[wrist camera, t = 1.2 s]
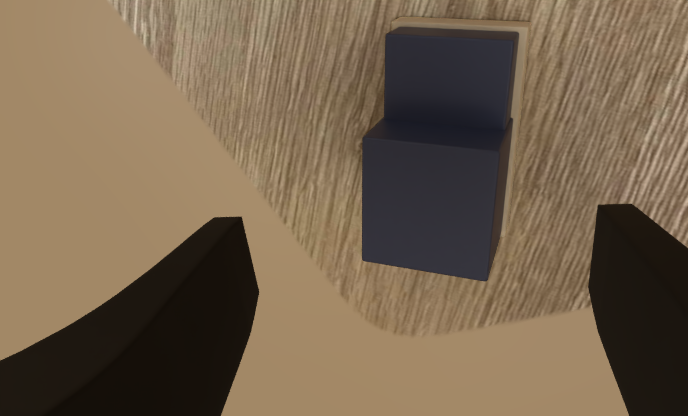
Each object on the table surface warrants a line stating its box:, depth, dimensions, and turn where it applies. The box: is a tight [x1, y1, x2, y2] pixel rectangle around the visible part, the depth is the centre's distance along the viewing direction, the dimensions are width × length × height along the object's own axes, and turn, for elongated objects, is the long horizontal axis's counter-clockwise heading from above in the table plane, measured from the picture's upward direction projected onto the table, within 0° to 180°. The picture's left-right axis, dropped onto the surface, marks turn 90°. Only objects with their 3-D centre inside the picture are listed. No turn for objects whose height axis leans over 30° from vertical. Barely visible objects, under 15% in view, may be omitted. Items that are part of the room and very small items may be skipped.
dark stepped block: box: [362, 16, 531, 281], centre depth 21 cm, size 8×4×5 cm, turn 1°
